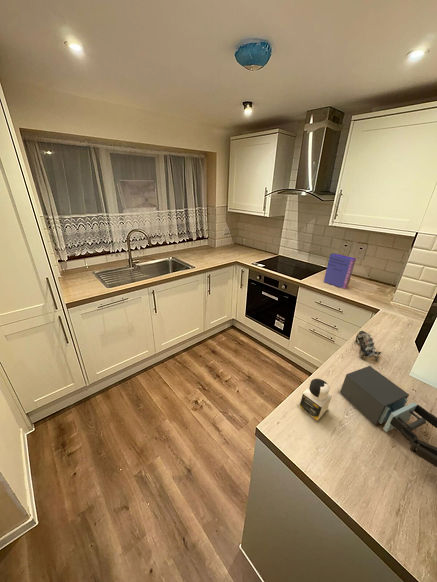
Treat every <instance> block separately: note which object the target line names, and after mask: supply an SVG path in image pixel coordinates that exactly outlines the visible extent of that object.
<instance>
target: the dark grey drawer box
mask: <svg viewBox="0 0 437 582" xmlns="http://www.w3.org/2000/svg"><path fill="white" fill-rule="evenodd" d="M339 393H340V395H342V396H343V397H344V398H345V399H346V400H347V401H348V402H349V403H350V404H351V405H352V406H353V407H354V408H355V409H356V410H358V411H359V412H360V414H362V415H363V416H364V417H365V418H366V419H367V420H368V421H369V422H370V423H372V424H373V426H377V425H380V423H379V422H378V421H379V419H380V417H381V415H382V413H383V411H384V409H385V407H387V406H389V405H391V404H393V403H395V402H397V401H399V400H401V399H403V398H406V399H407V400H408V397H409V396H410V394H409V393H408V392H407V391H405V390H404V389H402V388H401V387H399V386H398V385H397V384H396V383H394V382H392V380H391V379H389V378H387V377H386V376H385V375H384V374H382V373H381V372H380V371H378V370H376V369H375V368H374V367H372V366H371V365H368V366H365V367H362V368H360V369H356V370H354V371H351V372H349V373H346V375H345V377H344V380H343V382H342V385H341V388H340V392H339Z"/></svg>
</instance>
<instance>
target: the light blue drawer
mask: <svg viewBox="0 0 437 582" xmlns="http://www.w3.org/2000/svg"><path fill="white" fill-rule="evenodd" d="M407 402H408V398H407V399H406V398H403V399H401V400H399V401H397V402H395V403H393V404H391V405H389V406H387V407H385V409H384V411H383V413H382V415H381V417H380V419H379V421H378V422H379V425H382V424H384V423H385V424H384V426H383V427H382V429H383V431H385V433H388V432H390V431H391V430H393V429H396V428H395V427H393V426H392V425H391V424H390V422H391V420H392V418H393V417H395V418H396V419H398V420H399V421H400V422H401V423H402V424H404V425H405V426H406V427H407V428H408V429H409V430H411V431H412V432H413V431H414V430H416V429H418V428H419V427H422V426H423V425H425V424H426V423H427V421H426V420H425V419H424V418H422V417H421V416H420V415H418V414H417V413H416V412H414V410H415V408H416V407H417V405H418V403H416V402H415V401H413V402H410V403H409V404H407ZM412 416H413V417H414V418H416V420H414V421H413V422H411V423H407V422H409V420H410V419H411V417H412Z"/></svg>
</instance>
